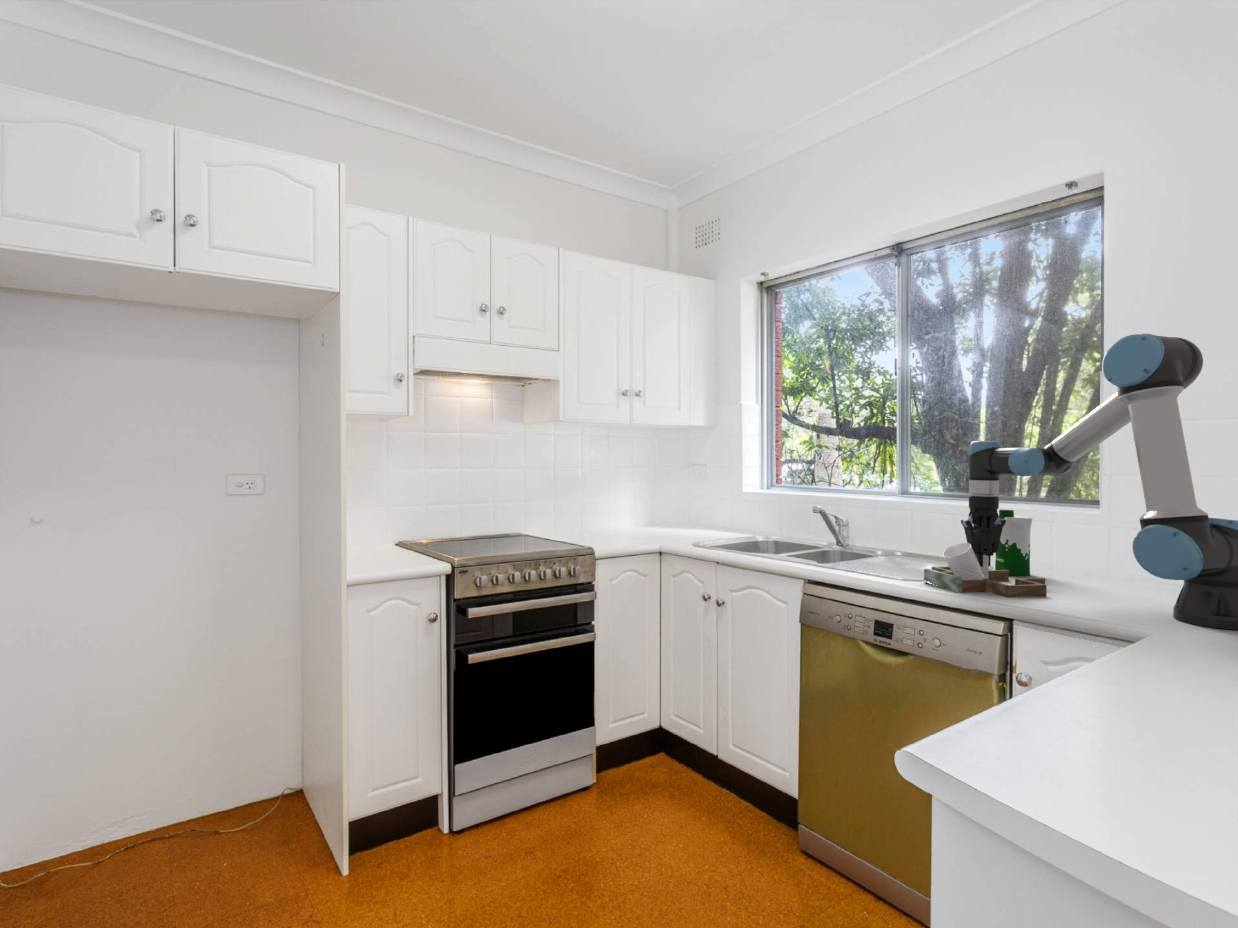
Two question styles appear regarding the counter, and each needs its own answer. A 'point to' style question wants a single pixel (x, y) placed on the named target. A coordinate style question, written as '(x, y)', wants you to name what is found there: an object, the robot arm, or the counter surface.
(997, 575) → the wooden tray
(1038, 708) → the counter surface
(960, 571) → the white cup
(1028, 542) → the milk carton
